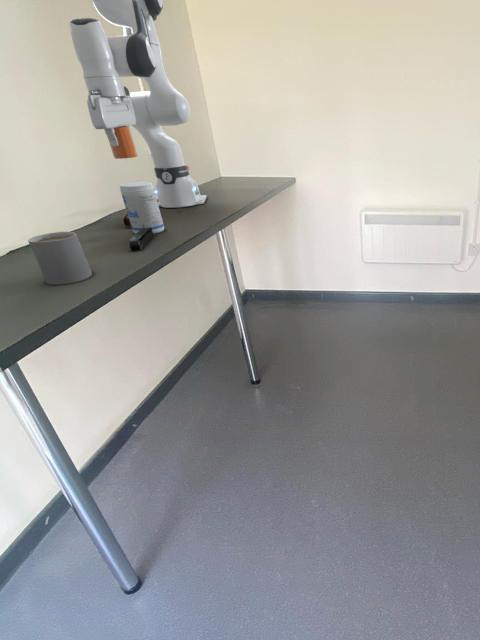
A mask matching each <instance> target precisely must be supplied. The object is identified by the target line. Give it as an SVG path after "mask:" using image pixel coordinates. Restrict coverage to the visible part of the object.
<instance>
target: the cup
mask: <svg viewBox="0 0 480 640" xmlns="http://www.w3.org/2000/svg"><path fill="white" fill-rule="evenodd" d="M129 128H130V126H124V127H117V128H114V131H115V132H114V134H115V136H116V138H117V139H119V143H120V145H119V146H112V144H111V141H110V139H109V138H108V136H107V135H106V137H107V140H108V143H109V147H110V150H111V152H112V156H113V158H114V159H116V160H118V159H119V160H121V159H123V160H124V159H133V158H137V157H138V153H137V149H136V145H135V143H134V139H133V136H132V132H131V128H130V129H129Z"/></svg>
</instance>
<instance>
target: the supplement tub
mask: <svg viewBox="0 0 480 640" xmlns="http://www.w3.org/2000/svg"><path fill="white" fill-rule="evenodd" d="M119 189H120V194H121V198H122V201H123V204H124V207H125V210H126V215H127V214H128V217H129V220H130V223H131V227H130V228H131V230H132V232H133V233H134V235H135V234H137V233H138V232H139V231H140V230H141V229H142V228H148V227H151V228H152V231H153V235H155V234H159V233H162V232H164V230H165V225H164V221H163V217H162V214H161V210H160V206H158V202H159V201H158V198H157V195H156V193H155V191H156V190H155V189H154V186H153V183H152V182H151V181H131V182H130V181H129V182H124V183H121V184H119Z"/></svg>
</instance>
